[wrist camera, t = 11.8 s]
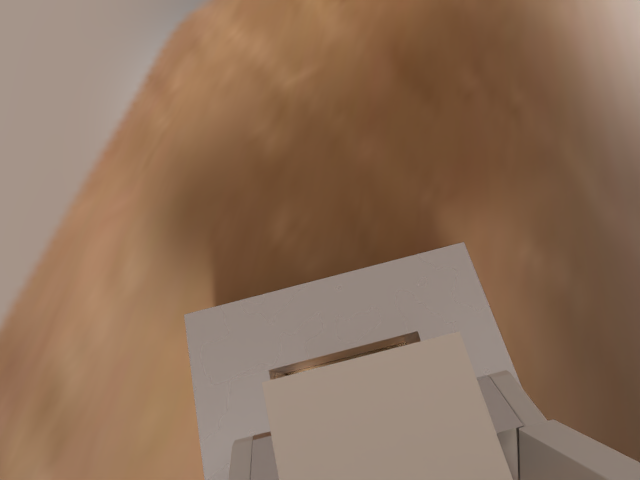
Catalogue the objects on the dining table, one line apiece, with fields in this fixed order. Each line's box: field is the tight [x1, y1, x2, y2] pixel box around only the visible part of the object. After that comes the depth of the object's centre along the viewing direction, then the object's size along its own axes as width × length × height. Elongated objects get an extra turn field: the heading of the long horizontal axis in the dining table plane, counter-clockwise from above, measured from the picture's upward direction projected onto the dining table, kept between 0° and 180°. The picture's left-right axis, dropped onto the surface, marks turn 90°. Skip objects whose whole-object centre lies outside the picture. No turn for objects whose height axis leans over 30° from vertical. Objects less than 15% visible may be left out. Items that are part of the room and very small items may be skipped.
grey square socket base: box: [184, 242, 522, 480], centre depth 17 cm, size 12×12×4 cm
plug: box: [262, 331, 513, 480], centre depth 11 cm, size 4×4×8 cm
